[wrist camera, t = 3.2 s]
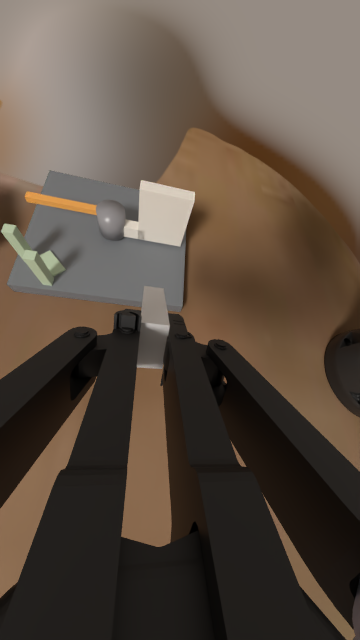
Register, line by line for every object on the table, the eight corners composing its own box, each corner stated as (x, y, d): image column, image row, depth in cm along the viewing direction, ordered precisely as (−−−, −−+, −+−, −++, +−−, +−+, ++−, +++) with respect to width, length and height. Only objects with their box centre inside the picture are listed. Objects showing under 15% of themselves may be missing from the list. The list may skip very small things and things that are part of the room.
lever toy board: (185, 209, 43) (196, 169, 35) (180, 311, 35) (192, 288, 27) (53, 181, 38) (35, 129, 31) (14, 291, 31) (-24, 257, 23)
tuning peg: (180, 233, 37) (194, 185, 29) (179, 252, 36) (194, 208, 27) (41, 206, 33) (11, 143, 25) (33, 227, 32) (-1, 166, 24)
